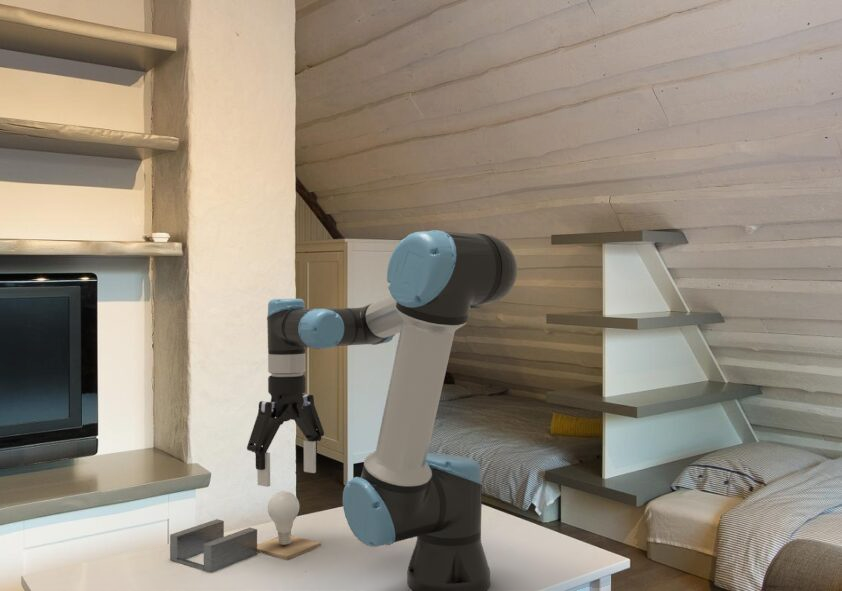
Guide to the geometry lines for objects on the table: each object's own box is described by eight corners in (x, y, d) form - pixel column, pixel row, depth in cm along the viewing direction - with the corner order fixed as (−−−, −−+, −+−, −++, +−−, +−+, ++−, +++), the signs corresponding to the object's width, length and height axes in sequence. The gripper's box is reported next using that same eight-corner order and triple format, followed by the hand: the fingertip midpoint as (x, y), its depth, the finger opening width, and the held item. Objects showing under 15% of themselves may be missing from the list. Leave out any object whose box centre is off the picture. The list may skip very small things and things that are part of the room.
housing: (257, 554, 159) (257, 529, 159) (210, 572, 149) (211, 546, 149) (216, 543, 165) (217, 519, 165) (170, 560, 155) (170, 534, 155)
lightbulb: (293, 551, 159) (292, 497, 158) (264, 549, 160) (262, 496, 160) (305, 540, 165) (303, 488, 164) (276, 538, 166) (274, 486, 166)
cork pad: (320, 545, 164) (320, 542, 164) (287, 559, 156) (287, 556, 156) (284, 536, 170) (284, 533, 170) (250, 549, 162) (250, 547, 161)
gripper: (313, 368, 175) (314, 464, 175) (227, 379, 154) (228, 489, 154) (340, 369, 170) (340, 468, 171) (256, 381, 150) (256, 494, 150)
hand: (287, 478), depth 162 cm, fingers open, 13 cm apart
